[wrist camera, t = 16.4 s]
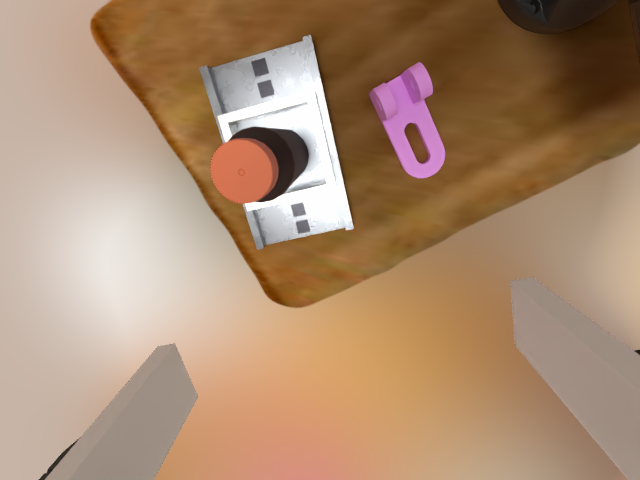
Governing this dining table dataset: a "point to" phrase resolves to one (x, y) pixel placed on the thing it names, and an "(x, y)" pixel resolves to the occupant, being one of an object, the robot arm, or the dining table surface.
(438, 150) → the bracket
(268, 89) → the grey base plate
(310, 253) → the dining table surface
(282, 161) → the vinegar
